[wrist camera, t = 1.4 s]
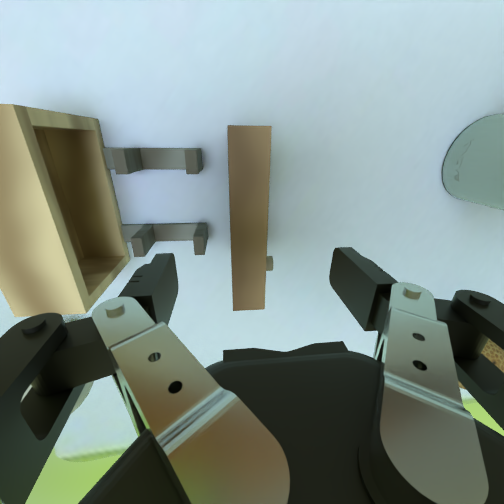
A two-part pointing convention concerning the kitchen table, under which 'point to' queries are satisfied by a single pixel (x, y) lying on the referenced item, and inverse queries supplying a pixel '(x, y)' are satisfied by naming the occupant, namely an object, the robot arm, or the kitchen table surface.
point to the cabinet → (71, 210)
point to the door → (249, 213)
